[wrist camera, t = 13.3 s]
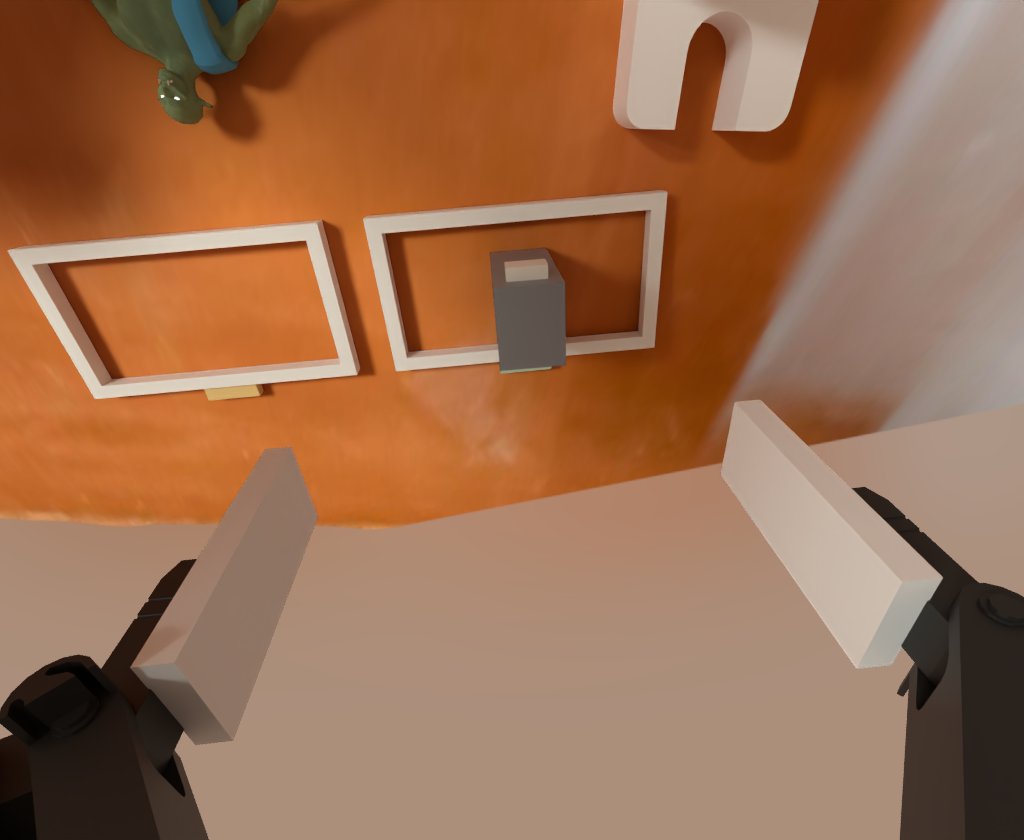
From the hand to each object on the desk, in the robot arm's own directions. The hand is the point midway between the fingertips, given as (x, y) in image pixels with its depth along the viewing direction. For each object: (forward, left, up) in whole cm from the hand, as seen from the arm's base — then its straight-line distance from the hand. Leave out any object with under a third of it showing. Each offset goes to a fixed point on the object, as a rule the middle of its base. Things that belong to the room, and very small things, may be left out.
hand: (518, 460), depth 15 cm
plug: (+2, -2, -24) cm, 24 cm away
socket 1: (-21, -1, -24) cm, 32 cm away
